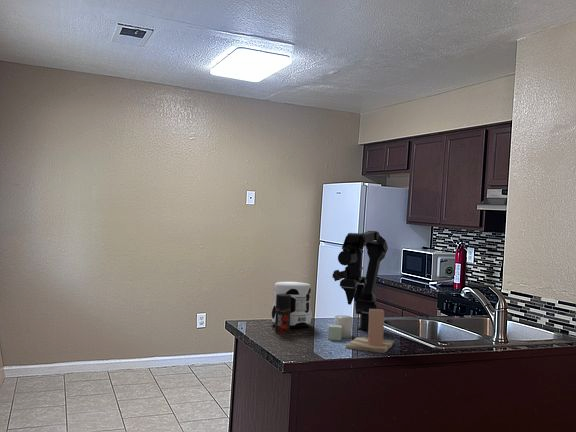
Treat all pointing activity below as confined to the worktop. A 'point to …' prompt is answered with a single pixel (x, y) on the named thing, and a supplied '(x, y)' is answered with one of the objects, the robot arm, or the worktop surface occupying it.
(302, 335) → the worktop surface
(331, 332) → the block
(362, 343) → the board
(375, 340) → the tan rectangular block
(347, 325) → the pale grey cylinder
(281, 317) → the deodorant
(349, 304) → the robot arm
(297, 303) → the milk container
